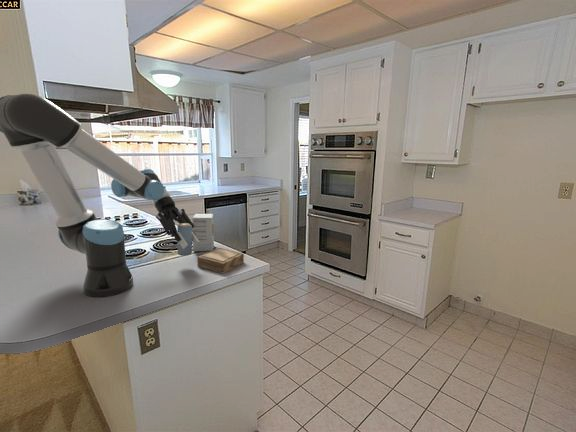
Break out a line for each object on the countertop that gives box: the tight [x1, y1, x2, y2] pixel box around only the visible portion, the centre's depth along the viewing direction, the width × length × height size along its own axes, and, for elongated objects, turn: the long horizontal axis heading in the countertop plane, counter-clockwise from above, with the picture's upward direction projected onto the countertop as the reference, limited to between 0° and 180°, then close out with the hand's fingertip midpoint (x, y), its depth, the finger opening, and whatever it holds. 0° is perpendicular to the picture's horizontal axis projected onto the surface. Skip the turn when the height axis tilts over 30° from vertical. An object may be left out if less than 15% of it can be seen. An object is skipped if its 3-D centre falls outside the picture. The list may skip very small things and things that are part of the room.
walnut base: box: [197, 247, 245, 274], centre depth 131 cm, size 14×14×4 cm
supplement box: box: [191, 213, 215, 252], centre depth 147 cm, size 10×9×17 cm
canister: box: [176, 223, 193, 257], centre depth 124 cm, size 6×6×13 cm
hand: (191, 244), depth 123 cm, fingers closed on canister, 6 cm apart
